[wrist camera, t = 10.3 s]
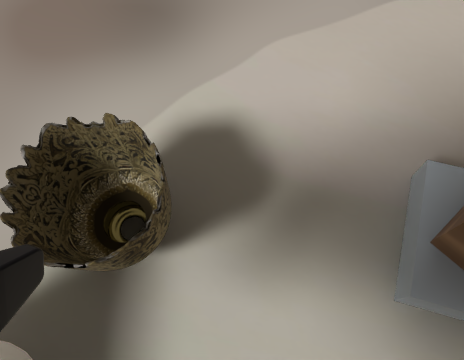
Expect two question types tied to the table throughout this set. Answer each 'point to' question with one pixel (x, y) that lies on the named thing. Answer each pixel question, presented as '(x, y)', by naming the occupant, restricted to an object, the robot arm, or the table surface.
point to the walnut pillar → (452, 239)
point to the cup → (88, 194)
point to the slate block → (422, 233)
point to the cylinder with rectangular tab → (12, 352)
